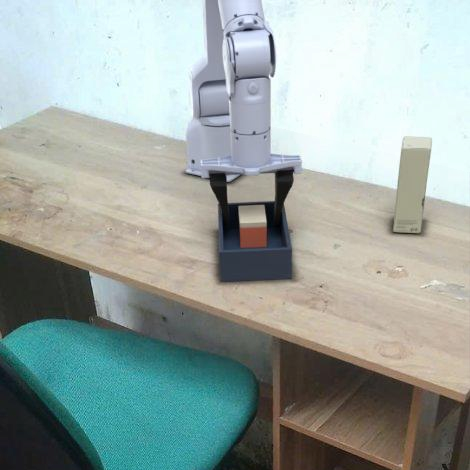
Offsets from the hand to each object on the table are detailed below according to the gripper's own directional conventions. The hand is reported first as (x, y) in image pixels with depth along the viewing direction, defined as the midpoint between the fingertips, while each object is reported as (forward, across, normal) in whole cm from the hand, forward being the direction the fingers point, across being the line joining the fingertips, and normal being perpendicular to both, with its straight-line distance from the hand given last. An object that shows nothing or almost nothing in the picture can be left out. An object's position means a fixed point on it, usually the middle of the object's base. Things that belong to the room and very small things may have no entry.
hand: (252, 221), depth 121 cm
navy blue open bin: (+3, 0, -4) cm, 5 cm away
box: (+3, +25, +3) cm, 25 cm away
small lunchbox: (+3, 0, 0) cm, 3 cm away
